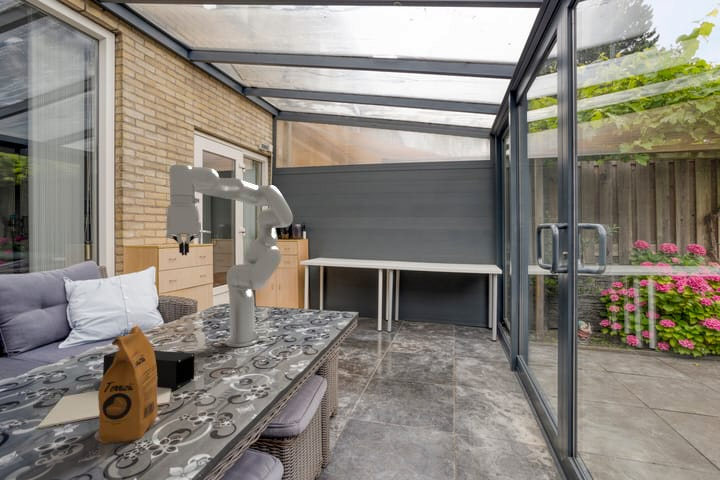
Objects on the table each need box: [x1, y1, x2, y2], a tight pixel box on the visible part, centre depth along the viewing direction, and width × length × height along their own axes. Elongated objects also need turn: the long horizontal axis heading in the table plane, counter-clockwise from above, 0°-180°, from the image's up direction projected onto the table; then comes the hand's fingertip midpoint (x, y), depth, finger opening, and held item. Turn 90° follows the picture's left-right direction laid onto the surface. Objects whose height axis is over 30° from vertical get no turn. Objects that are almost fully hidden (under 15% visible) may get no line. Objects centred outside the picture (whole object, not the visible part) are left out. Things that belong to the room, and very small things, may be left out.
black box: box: [102, 350, 196, 390], centre depth 102 cm, size 8×8×28 cm
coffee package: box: [98, 325, 159, 444], centre depth 77 cm, size 10×12×22 cm
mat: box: [37, 387, 172, 430], centre depth 90 cm, size 26×16×1 cm, turn 115°
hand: (184, 255), depth 117 cm, fingers closed
